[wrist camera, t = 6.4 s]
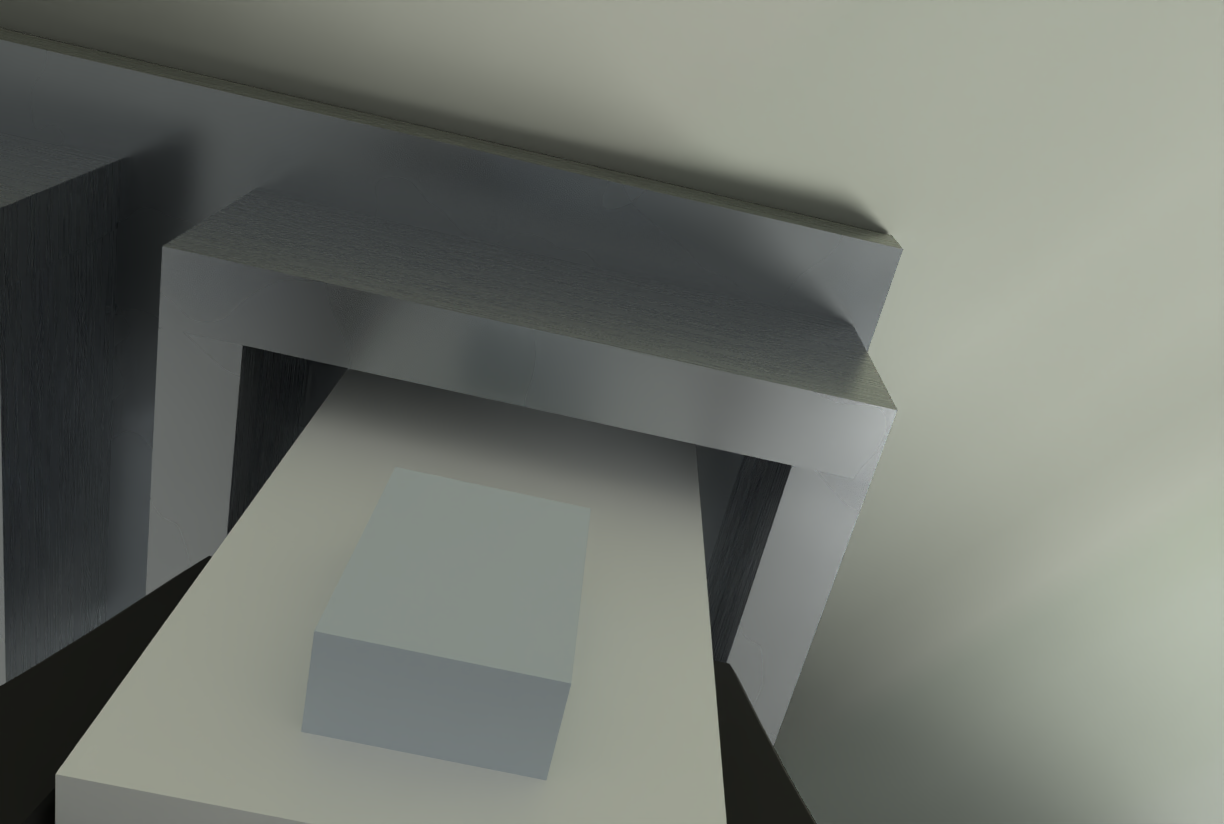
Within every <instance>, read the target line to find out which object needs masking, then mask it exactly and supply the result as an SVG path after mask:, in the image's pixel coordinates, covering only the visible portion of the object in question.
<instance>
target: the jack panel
mask: <svg viewBox="0 0 1224 824" xmlns="http://www.w3.org/2000/svg"><path fill="white" fill-rule="evenodd" d="M902 251H903V249H902V247H901V246H900V245H899V244H898V242H897V241H896V240H895V239H894V237H893V236H892V235H887V234H883V233H879V232H874V231H870V230H866V229H861V228H857V227H853V226H849V225H844V224H840V223H836V222H831V221H827V220H823V219H819V218H814V217H810V216H806V215H801V214H797V213H793V212H788V211H784V210H780V209H776V208H771V207H767V206H763V205H758V204H754V203H750V202H746V201H741V200H737V199H733V198H728V197H724V196H720V195H715V194H711V193H707V192H703V191H698V190H694V189H690V188H685V187H681V186H677V185H672V184H668V183H664V182H660V181H655V180H651V179H647V178H642V177H638V176H634V175H630V174H625V173H621V172H617V171H612V170H608V169H604V168H599V167H595V166H591V165H587V164H582V163H578V162H574V161H569V160H565V159H561V158H557V157H552V156H548V155H544V154H539V153H535V152H531V151H526V150H522V149H518V148H514V147H509V146H505V145H501V144H496V143H492V142H488V141H483V140H479V139H475V138H471V137H466V136H462V135H458V134H453V133H449V132H445V131H441V130H436V129H432V128H428V127H423V126H419V125H415V124H410V123H406V122H402V121H398V120H393V119H389V118H385V117H380V116H376V115H372V114H368V113H363V112H359V111H355V110H350V109H346V108H342V107H337V106H333V105H329V104H325V103H320V102H316V101H312V100H307V99H303V98H299V97H295V96H290V95H286V94H282V93H277V92H273V91H269V90H264V89H260V88H256V87H252V86H247V85H243V84H239V83H234V82H230V81H226V80H221V79H217V78H213V77H209V76H204V75H200V74H196V73H191V72H187V71H183V70H179V69H174V68H170V67H166V66H161V65H157V64H153V63H148V62H144V61H140V60H136V59H131V58H127V57H123V56H118V55H114V54H110V53H106V52H101V51H97V50H93V49H88V48H84V47H80V46H75V45H71V44H67V43H63V42H58V41H54V40H50V39H45V38H41V37H37V36H32V35H28V34H24V33H20V32H15V31H11V30H7V29H2V28H0V686H1V685H3V684H4V683H6V682H8V681H10V680H11V679H13V678H15V677H16V676H18V675H20V674H21V673H23V672H25V671H27V670H28V669H30V668H31V667H33V666H35V665H36V664H38V663H40V662H41V661H43V660H44V659H46V658H48V657H49V656H51V655H53V654H54V653H56V652H58V651H59V650H61V649H62V648H64V647H66V646H67V645H69V644H71V643H72V642H74V641H75V640H77V639H79V638H80V637H82V636H84V635H85V634H87V633H88V632H90V631H92V630H93V629H95V628H96V627H98V626H100V625H101V624H103V623H104V622H106V621H107V620H109V619H110V618H112V617H114V616H115V615H117V614H118V613H120V612H121V611H123V610H124V609H126V608H128V607H129V606H131V605H132V604H134V603H135V602H137V601H138V600H140V599H141V598H143V597H144V596H146V595H148V594H149V593H151V592H152V591H154V590H155V589H157V588H158V587H160V586H161V585H163V584H164V583H166V582H168V581H169V580H171V579H172V578H174V577H175V576H177V575H178V574H180V573H182V572H183V571H185V570H186V569H188V568H190V567H191V566H193V565H194V564H196V563H198V562H199V561H201V560H203V559H204V558H206V557H208V556H213V555H214V553H215V552H216V551H217V549H218V548H219V547H220V545H221V544H222V542H223V541H224V540H225V538H226V537H227V535H228V534H229V533H230V531H231V530H232V528H233V527H234V526H235V524H236V523H237V522H238V520H239V519H240V517H241V516H242V515H243V513H244V512H245V510H246V509H247V508H248V506H249V505H250V503H251V502H252V501H253V499H254V498H255V497H256V495H257V494H258V492H259V491H260V490H261V488H262V487H263V485H264V484H265V483H266V481H267V480H268V479H269V477H270V476H271V474H272V473H273V472H274V470H275V469H276V467H277V466H278V465H279V463H280V462H281V460H282V459H283V458H284V456H285V455H286V454H287V452H288V451H289V449H290V448H291V447H292V445H293V444H294V442H295V441H296V440H297V438H298V437H299V436H300V434H301V433H302V431H303V430H304V429H305V427H306V426H307V424H308V423H309V422H310V420H311V419H312V417H313V416H314V415H315V413H316V412H317V411H318V409H319V408H320V406H321V405H322V404H323V402H324V401H325V399H326V398H327V397H328V395H329V394H330V392H331V391H332V390H333V388H334V387H335V386H336V384H337V383H338V381H339V380H340V379H341V377H342V376H343V374H344V373H345V372H346V370H347V369H348V368H349V369H354V370H358V371H363V372H368V373H372V374H377V375H381V376H386V377H390V378H395V379H400V380H404V381H409V382H413V383H418V384H422V385H427V386H431V387H436V388H441V389H445V390H450V391H454V392H459V393H463V394H468V395H473V396H477V397H482V398H486V399H491V400H495V401H500V402H505V403H509V404H514V405H518V406H523V407H527V408H532V409H537V410H541V411H546V412H550V413H555V414H559V415H564V416H569V417H573V418H578V419H582V420H587V421H591V422H596V423H601V424H605V425H610V426H614V427H619V428H623V429H628V430H633V431H637V432H642V433H646V434H651V435H655V436H660V437H665V438H669V439H674V440H678V441H683V442H687V443H692V444H696V456H697V469H698V481H699V493H700V505H701V517H702V530H703V542H704V554H705V566H706V578H707V590H708V603H709V615H710V627H711V639H712V651H713V660H715V661H720V662H724V663H729V664H730V665H731V666H732V668H733V670H734V671H735V673H736V674H737V676H738V678H739V680H740V682H741V684H742V686H743V688H744V690H745V692H746V694H747V696H748V698H749V700H750V702H751V704H752V706H753V708H754V710H755V712H756V714H757V716H758V718H759V720H760V722H761V724H762V726H763V728H764V730H765V732H766V734H767V735H768V737H769V739H770V741H771V743H772V745H773V746H774V743H775V741H776V738H777V735H778V733H779V730H780V727H781V724H782V722H783V719H784V716H785V714H786V711H787V708H788V705H789V703H790V700H791V697H792V695H793V692H794V689H795V686H796V684H797V681H798V678H799V676H800V673H801V670H802V667H803V665H804V662H805V659H806V657H807V654H808V651H809V649H810V646H811V643H812V640H813V638H814V635H815V632H816V630H817V627H818V624H819V621H820V619H821V616H822V613H823V611H824V608H825V605H826V602H827V600H828V597H829V594H830V592H831V589H832V586H833V583H834V581H835V578H836V575H837V573H838V570H839V567H840V564H841V562H842V559H843V556H844V554H845V551H846V548H847V546H848V543H849V540H850V537H851V535H852V532H853V529H854V527H855V524H856V521H857V518H858V516H859V513H860V510H861V508H862V505H863V502H864V499H865V497H866V494H867V491H868V489H869V486H870V483H871V480H872V478H873V475H874V472H875V470H876V467H877V464H878V461H879V459H880V456H881V453H882V451H883V448H884V445H885V442H886V440H887V437H888V434H889V432H890V429H891V426H892V424H893V421H894V418H895V415H896V413H897V409H896V407H895V405H894V403H893V401H892V399H891V397H890V395H889V393H888V391H887V389H886V387H885V385H884V383H883V382H882V380H881V378H880V376H879V374H878V372H877V370H876V368H875V366H874V364H873V362H872V360H871V358H870V357H869V355H868V353H867V351H868V349H869V346H870V343H871V340H872V337H873V334H874V331H875V328H876V326H877V323H878V320H879V317H880V314H881V311H882V308H883V305H884V302H885V300H886V297H887V294H888V291H889V288H890V285H891V282H892V279H893V277H894V274H895V271H896V268H897V265H898V262H899V259H900V256H901V254H902Z"/></svg>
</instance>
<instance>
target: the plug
mask: <svg viewBox="0 0 1224 824" xmlns="http://www.w3.org/2000/svg"><path fill="white" fill-rule="evenodd" d="M55 824H727V822H726V810H725V798H724V785H723V773H722V761H721V749H720V737H719V724H718V712H717V700H716V688H715V676H714V664H713V651H712V639H711V627H710V615H709V603H708V590H707V578H706V566H705V554H704V542H703V530H702V517H701V505H700V493H699V481H698V469H697V456H696V444H692V443H687V442H683V441H678V440H674V439H669V438H665V437H660V436H655V435H651V434H646V433H642V432H637V431H633V430H628V429H623V428H619V427H614V426H610V425H605V424H601V423H596V422H591V421H587V420H582V419H578V418H573V417H569V416H564V415H559V414H555V413H550V412H546V411H541V410H537V409H532V408H527V407H523V406H518V405H514V404H509V403H505V402H500V401H495V400H491V399H486V398H482V397H477V396H473V395H468V394H463V393H459V392H454V391H450V390H445V389H441V388H436V387H431V386H427V385H422V384H418V383H413V382H409V381H404V380H400V379H395V378H390V377H386V376H381V375H377V374H372V373H368V372H363V371H358V370H354V369H349V368H348V369H347V370H346V372H345V373H344V374H343V376H342V377H341V379H340V380H339V381H338V383H337V384H336V386H335V387H334V388H333V390H332V391H331V392H330V394H329V395H328V397H327V398H326V399H325V401H324V402H323V404H322V405H321V406H320V408H319V409H318V411H317V412H316V413H315V415H314V416H313V417H312V419H311V420H310V422H309V423H308V424H307V426H306V427H305V429H304V430H303V431H302V433H301V434H300V436H299V437H298V438H297V440H296V441H295V442H294V444H293V445H292V447H291V448H290V449H289V451H288V452H287V454H286V455H285V456H284V458H283V459H282V460H281V462H280V463H279V465H278V466H277V467H276V469H275V470H274V472H273V473H272V474H271V476H270V477H269V479H268V480H267V481H266V483H265V484H264V485H263V487H262V488H261V490H260V491H259V492H258V494H257V495H256V497H255V498H254V499H253V501H252V502H251V503H250V505H249V506H248V508H247V509H246V510H245V512H244V513H243V515H242V516H241V517H240V519H239V520H238V522H237V523H236V524H235V526H234V527H233V528H232V530H231V531H230V533H229V534H228V535H227V537H226V538H225V540H224V541H223V542H222V544H221V545H220V547H219V548H218V549H217V551H216V552H215V553H214V555H213V556H212V558H211V559H210V560H209V562H208V563H207V565H206V566H205V567H204V569H203V570H202V571H201V573H200V574H199V576H198V577H197V578H196V580H195V581H194V583H193V584H192V585H191V587H190V588H189V590H188V591H187V592H186V594H185V595H184V596H183V598H182V599H181V601H180V602H179V603H178V605H177V606H176V608H175V609H174V610H173V612H172V613H171V614H170V616H169V617H168V619H167V620H166V621H165V623H164V624H163V626H162V627H161V628H160V630H159V631H158V633H157V634H156V635H155V637H154V638H153V639H152V641H151V642H150V644H149V645H148V646H147V648H146V649H145V651H144V652H143V653H142V655H141V656H140V658H139V659H138V660H137V662H136V663H135V664H134V666H133V667H132V669H131V670H130V671H129V673H128V674H127V676H126V677H125V678H124V680H123V681H122V682H121V684H120V685H119V687H118V688H117V689H116V691H115V692H114V694H113V695H112V696H111V698H110V699H109V701H108V702H107V703H106V705H105V706H104V707H103V709H102V710H101V712H100V713H99V714H98V716H97V717H96V719H95V720H94V721H93V723H92V724H91V725H90V727H89V728H88V730H87V731H86V732H85V734H84V735H83V737H82V738H81V739H80V741H79V742H78V744H77V745H76V746H75V748H74V749H73V750H72V752H71V753H70V755H69V756H68V757H67V759H66V760H65V762H64V763H63V764H62V766H61V767H60V768H59V770H58V771H57V773H56V774H55Z"/></svg>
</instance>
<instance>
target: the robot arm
mask: <svg viewBox="0 0 1224 824" xmlns="http://www.w3.org/2000/svg"><path fill="white" fill-rule="evenodd" d="M211 558H212V556H208V557H206V558H204V559H203V560H201V561H199V562H198V563H196V564H194V565H193V566H191V567H190V568H188V569H186V570H185V571H183V572H182V573H180V574H178V575H177V576H175V577H174V578H172V579H171V580H169V581H168V582H166V583H164V584H163V585H161V586H160V587H158V588H157V589H155V590H154V591H152V592H151V593H149V594H148V595H146V596H144V597H143V598H141V599H140V600H138V601H137V602H135V603H134V604H132V605H131V606H129V607H128V608H126V609H124V610H123V611H121V612H120V613H118V614H117V615H115V616H114V617H112V618H110V619H109V620H107V621H106V622H104V623H103V624H101V625H100V626H98V627H96V628H95V629H93V630H92V631H90V632H88V633H87V634H85V635H84V636H82V637H80V638H79V639H77V640H75V641H74V642H72V643H71V644H69V645H67V646H66V647H64V648H62V649H61V650H59V651H58V652H56V653H54V654H53V655H51V656H49V657H48V658H46V659H44V660H43V661H41V662H40V663H38V664H36V665H35V666H33V667H31V668H30V669H28V670H27V671H25V672H23V673H21V674H20V675H18V676H16V677H15V678H13V679H11V680H10V681H8V682H6V683H4V684H3V685H1V686H0V824H55V774H56V773H57V771H58V770H59V768H60V767H61V766H62V764H63V763H64V762H65V760H66V759H67V757H68V756H69V755H70V753H71V752H72V750H73V749H74V748H75V746H76V745H77V744H78V742H79V741H80V739H81V738H82V737H83V735H84V734H85V732H86V731H87V730H88V728H89V727H90V725H91V724H92V723H93V721H94V720H95V719H96V717H97V716H98V714H99V713H100V712H101V710H102V709H103V707H104V706H105V705H106V703H107V702H108V701H109V699H110V698H111V696H112V695H113V694H114V692H115V691H116V689H117V688H118V687H119V685H120V684H121V682H122V681H123V680H124V678H125V677H126V676H127V674H128V673H129V671H130V670H131V669H132V667H133V666H134V664H135V663H136V662H137V660H138V659H139V658H140V656H141V655H142V653H143V652H144V651H145V649H146V648H147V646H148V645H149V644H150V642H151V641H152V639H153V638H154V637H155V635H156V634H157V633H158V631H159V630H160V628H161V627H162V626H163V624H164V623H165V621H166V620H167V619H168V617H169V616H170V614H171V613H172V612H173V610H174V609H175V608H176V606H177V605H178V603H179V602H180V601H181V599H182V598H183V596H184V595H185V594H186V592H187V591H188V590H189V588H190V587H191V585H192V584H193V583H194V581H195V580H196V578H197V577H198V576H199V574H200V573H201V571H202V570H203V569H204V567H205V566H206V565H207V563H208V562H209V560H210V559H211ZM713 664H714V676H715V688H716V700H717V712H718V724H719V737H720V749H721V761H722V773H723V785H724V798H725V810H726V822H727V824H816V822H815V820H814V819H813V817H812V815H811V814H810V812H809V810H808V808H807V807H806V805H805V803H804V802H803V800H802V798H801V796H800V795H799V793H798V791H797V789H796V788H795V786H794V784H793V782H792V780H791V778H790V777H789V775H788V773H787V771H786V769H785V768H784V766H783V764H782V762H781V760H780V758H779V756H778V754H777V752H776V751H775V749H774V747H773V745H772V743H771V741H770V739H769V737H768V735H767V734H766V732H765V730H764V728H763V726H762V724H761V722H760V720H759V718H758V716H757V714H756V712H755V710H754V708H753V706H752V704H751V702H750V700H749V698H748V696H747V694H746V692H745V690H744V688H743V686H742V684H741V682H740V680H739V678H738V676H737V674H736V673H735V671H734V670H733V668H732V666H731V665H730V664H729V663H724V662H720V661H715V660H713Z"/></svg>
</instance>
